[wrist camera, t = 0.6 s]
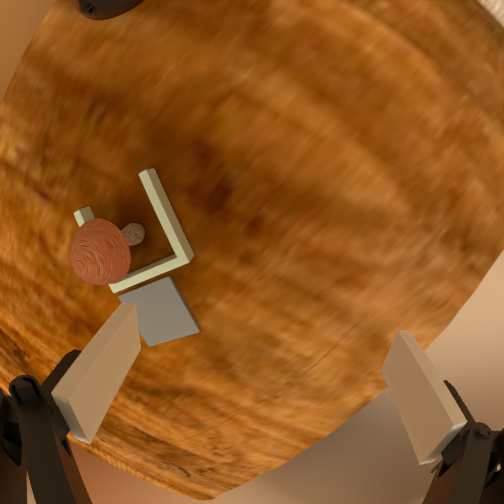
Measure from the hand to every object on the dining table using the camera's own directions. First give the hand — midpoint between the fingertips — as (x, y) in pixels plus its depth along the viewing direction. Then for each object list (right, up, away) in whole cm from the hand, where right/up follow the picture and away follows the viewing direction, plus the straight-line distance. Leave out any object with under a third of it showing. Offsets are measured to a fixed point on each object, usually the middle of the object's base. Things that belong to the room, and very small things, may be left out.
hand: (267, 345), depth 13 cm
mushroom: (-18, +8, +26) cm, 32 cm away
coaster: (-15, -5, +30) cm, 34 cm away
